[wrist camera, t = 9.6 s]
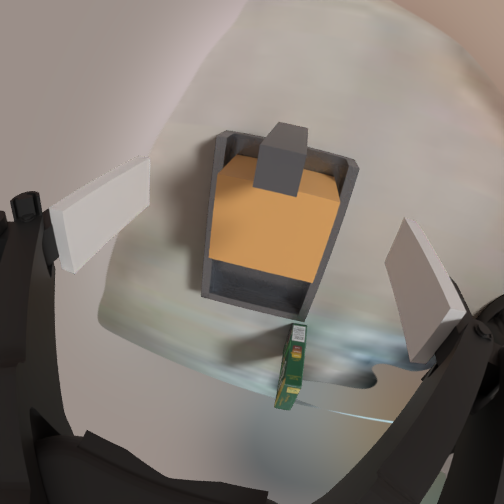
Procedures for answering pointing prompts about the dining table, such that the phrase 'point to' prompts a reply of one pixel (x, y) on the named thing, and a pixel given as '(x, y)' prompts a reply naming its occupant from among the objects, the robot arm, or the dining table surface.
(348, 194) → the bay
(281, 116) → the dining table surface
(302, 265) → the grey and orange block
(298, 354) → the coffee box
